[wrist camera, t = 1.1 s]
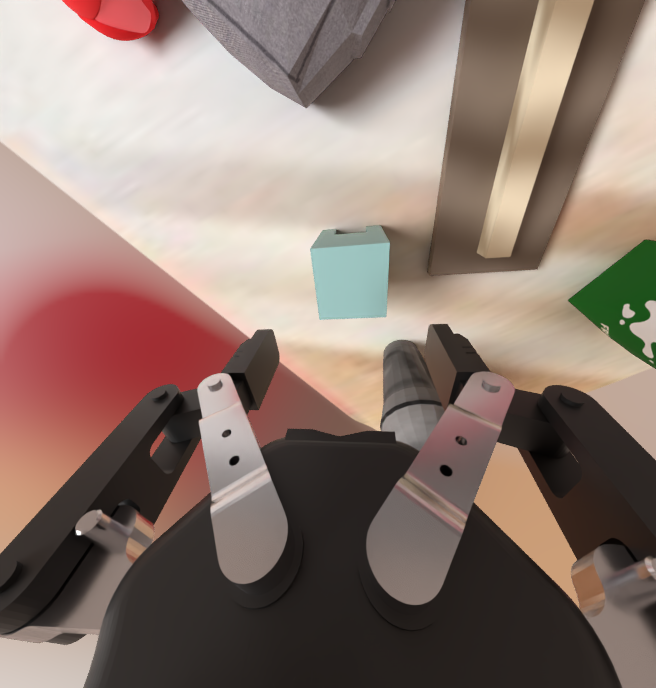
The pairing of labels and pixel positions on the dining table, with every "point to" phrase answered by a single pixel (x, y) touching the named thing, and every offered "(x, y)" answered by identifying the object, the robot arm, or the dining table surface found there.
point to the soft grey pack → (293, 38)
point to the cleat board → (489, 122)
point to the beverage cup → (408, 395)
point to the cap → (117, 16)
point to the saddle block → (351, 273)
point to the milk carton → (625, 302)
